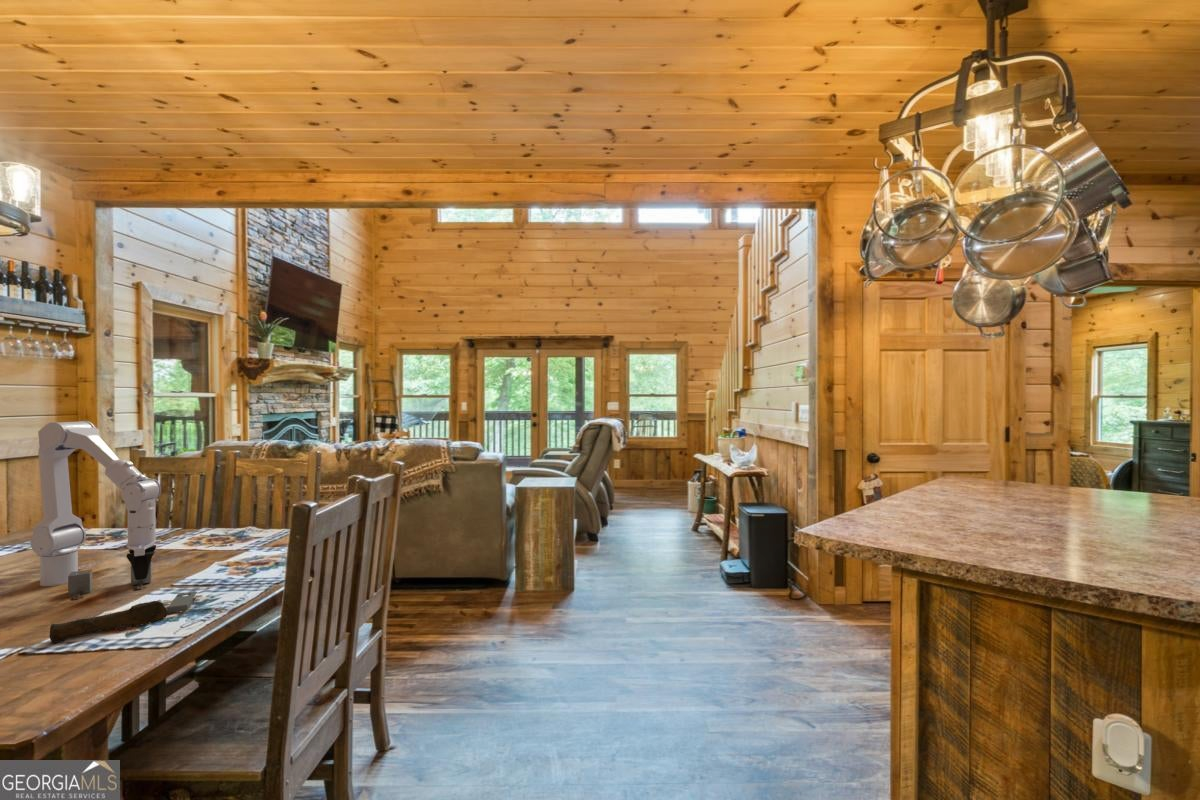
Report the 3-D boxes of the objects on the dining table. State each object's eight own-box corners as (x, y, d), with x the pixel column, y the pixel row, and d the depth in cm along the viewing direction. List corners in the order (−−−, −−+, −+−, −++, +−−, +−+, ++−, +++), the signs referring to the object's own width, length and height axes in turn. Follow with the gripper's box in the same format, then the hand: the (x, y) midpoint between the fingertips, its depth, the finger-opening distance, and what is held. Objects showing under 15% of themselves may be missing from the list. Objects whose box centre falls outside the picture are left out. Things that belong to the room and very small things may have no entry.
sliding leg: (132, 581, 148) (132, 562, 148) (151, 578, 150) (151, 559, 150) (129, 590, 141) (129, 570, 141) (149, 587, 143) (149, 567, 143)
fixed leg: (71, 591, 141) (71, 572, 141) (92, 588, 143) (92, 569, 143) (64, 601, 134) (64, 581, 134) (86, 598, 136) (86, 578, 136)
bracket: (166, 615, 129) (166, 607, 129) (177, 600, 138) (178, 592, 138) (187, 613, 131) (187, 604, 131) (197, 598, 140) (197, 590, 140)
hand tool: (48, 647, 112) (48, 624, 112) (50, 640, 115) (50, 618, 115) (166, 623, 125) (167, 602, 125) (165, 617, 128) (166, 597, 128)
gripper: (159, 528, 143) (159, 581, 144) (162, 518, 155) (162, 567, 155) (123, 532, 139) (123, 586, 139) (129, 522, 151) (129, 571, 151)
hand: (141, 576), depth 147 cm, fingers closed on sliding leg, 4 cm apart
